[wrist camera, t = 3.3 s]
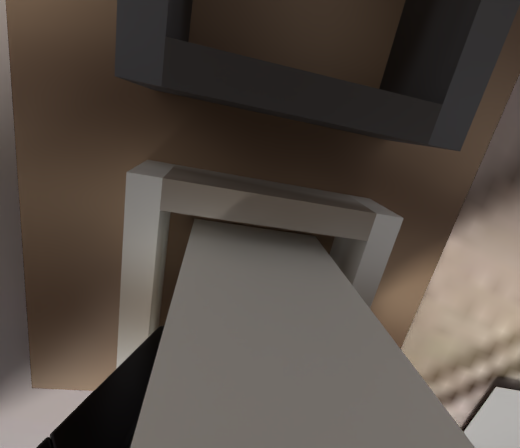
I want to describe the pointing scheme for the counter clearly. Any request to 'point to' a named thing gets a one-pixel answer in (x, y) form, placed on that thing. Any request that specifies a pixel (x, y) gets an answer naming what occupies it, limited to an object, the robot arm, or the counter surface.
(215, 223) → the plug
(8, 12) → the brown board with frames
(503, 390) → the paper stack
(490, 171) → the counter surface
